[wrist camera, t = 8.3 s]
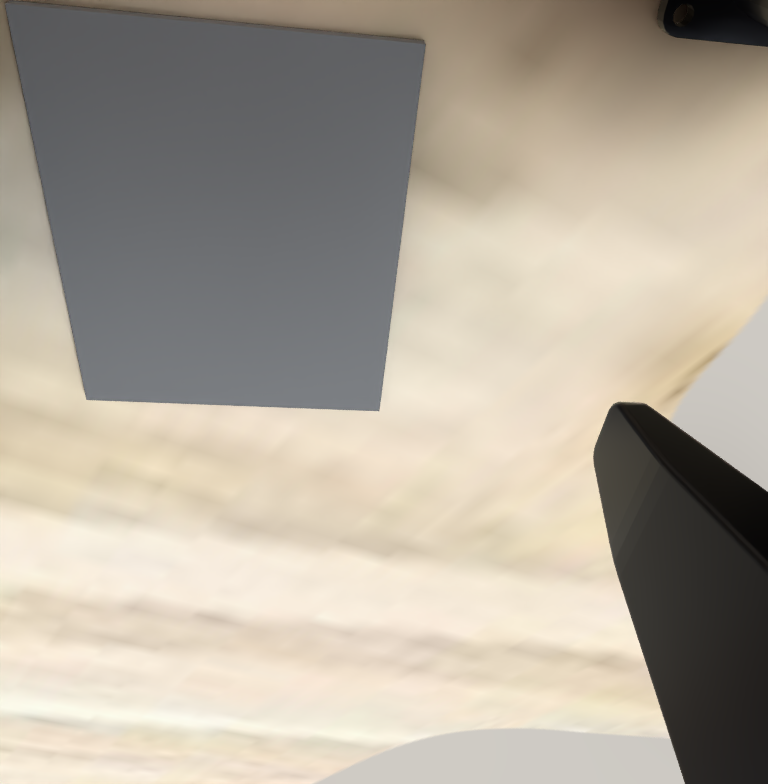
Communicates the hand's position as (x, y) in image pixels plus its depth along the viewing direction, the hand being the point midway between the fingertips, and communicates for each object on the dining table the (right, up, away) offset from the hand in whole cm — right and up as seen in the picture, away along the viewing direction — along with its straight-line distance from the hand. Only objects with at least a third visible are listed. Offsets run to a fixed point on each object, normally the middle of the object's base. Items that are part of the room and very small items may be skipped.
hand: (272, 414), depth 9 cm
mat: (-3, +5, +12) cm, 13 cm away
